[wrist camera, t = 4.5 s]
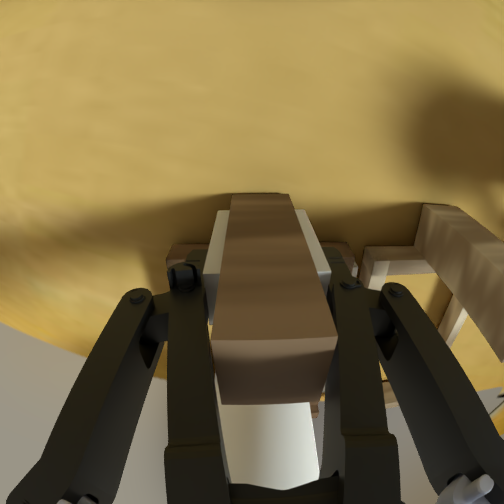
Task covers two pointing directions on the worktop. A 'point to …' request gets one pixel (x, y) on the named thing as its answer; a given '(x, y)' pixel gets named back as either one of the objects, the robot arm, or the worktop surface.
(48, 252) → the worktop surface
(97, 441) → the robot arm
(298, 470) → the potion bottle
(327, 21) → the worktop surface
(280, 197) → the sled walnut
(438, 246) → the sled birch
